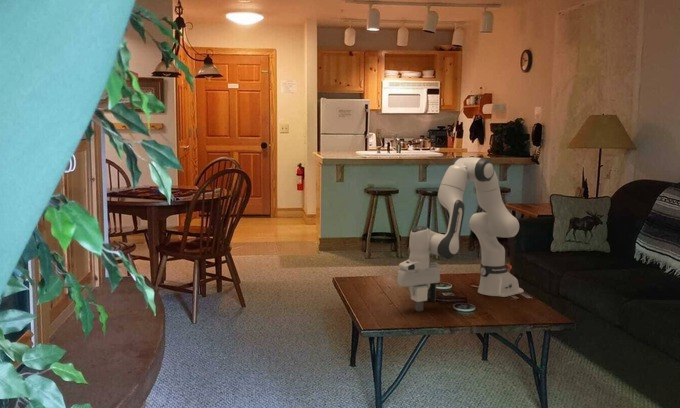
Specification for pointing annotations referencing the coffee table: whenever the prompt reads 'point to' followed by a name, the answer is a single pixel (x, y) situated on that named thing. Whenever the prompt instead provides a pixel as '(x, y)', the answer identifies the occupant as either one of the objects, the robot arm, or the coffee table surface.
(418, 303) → the post
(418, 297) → the white block
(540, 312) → the coffee table surface
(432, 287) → the tampon box
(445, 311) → the coffee table surface
